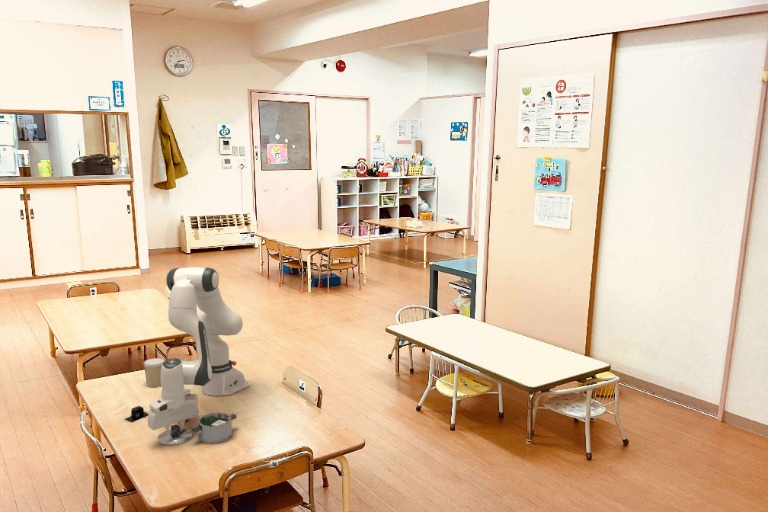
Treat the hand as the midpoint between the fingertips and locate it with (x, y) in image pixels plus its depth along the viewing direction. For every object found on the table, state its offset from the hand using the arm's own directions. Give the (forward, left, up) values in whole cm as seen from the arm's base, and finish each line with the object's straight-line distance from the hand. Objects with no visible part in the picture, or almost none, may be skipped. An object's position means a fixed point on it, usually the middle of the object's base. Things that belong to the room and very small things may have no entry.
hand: (174, 432), depth 236 cm
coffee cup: (-20, -57, -2) cm, 60 cm away
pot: (-12, +10, -2) cm, 16 cm away
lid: (0, 0, -2) cm, 2 cm away
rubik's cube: (-14, +10, -2) cm, 18 cm away
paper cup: (-10, -12, -2) cm, 16 cm away
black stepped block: (+2, -29, -3) cm, 29 cm away
